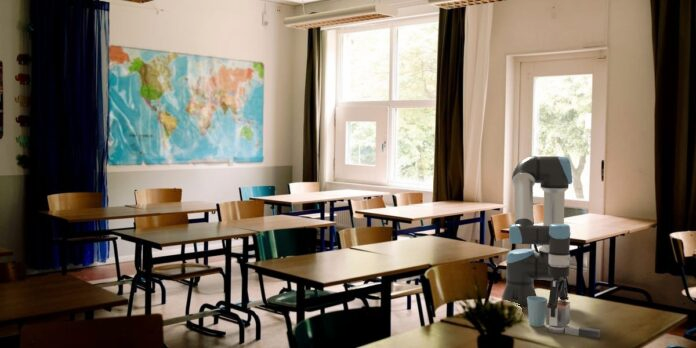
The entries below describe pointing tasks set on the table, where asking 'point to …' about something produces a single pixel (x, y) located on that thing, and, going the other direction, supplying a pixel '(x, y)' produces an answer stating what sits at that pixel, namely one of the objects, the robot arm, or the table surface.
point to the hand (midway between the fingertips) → (557, 321)
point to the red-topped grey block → (560, 314)
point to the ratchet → (575, 331)
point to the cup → (536, 310)
